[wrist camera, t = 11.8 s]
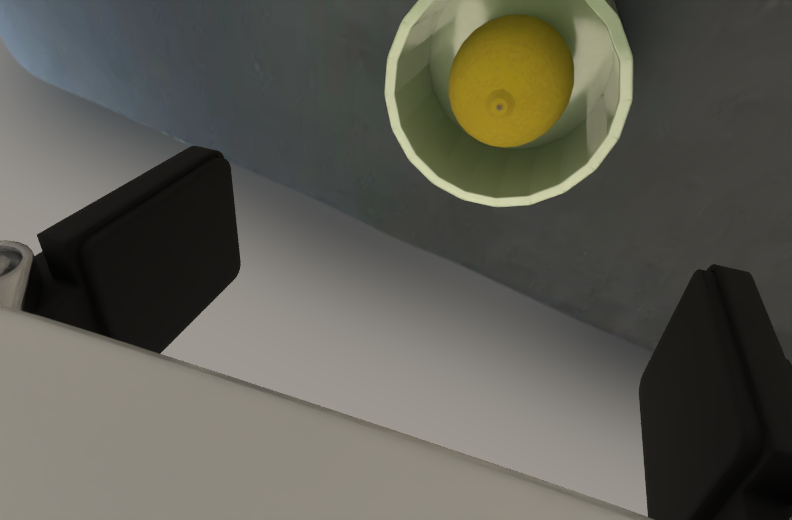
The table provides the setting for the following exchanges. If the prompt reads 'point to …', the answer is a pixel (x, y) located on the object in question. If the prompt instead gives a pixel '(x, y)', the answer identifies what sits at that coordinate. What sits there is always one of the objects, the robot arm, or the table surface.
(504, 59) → the lemon
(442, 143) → the cup
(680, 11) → the table surface
